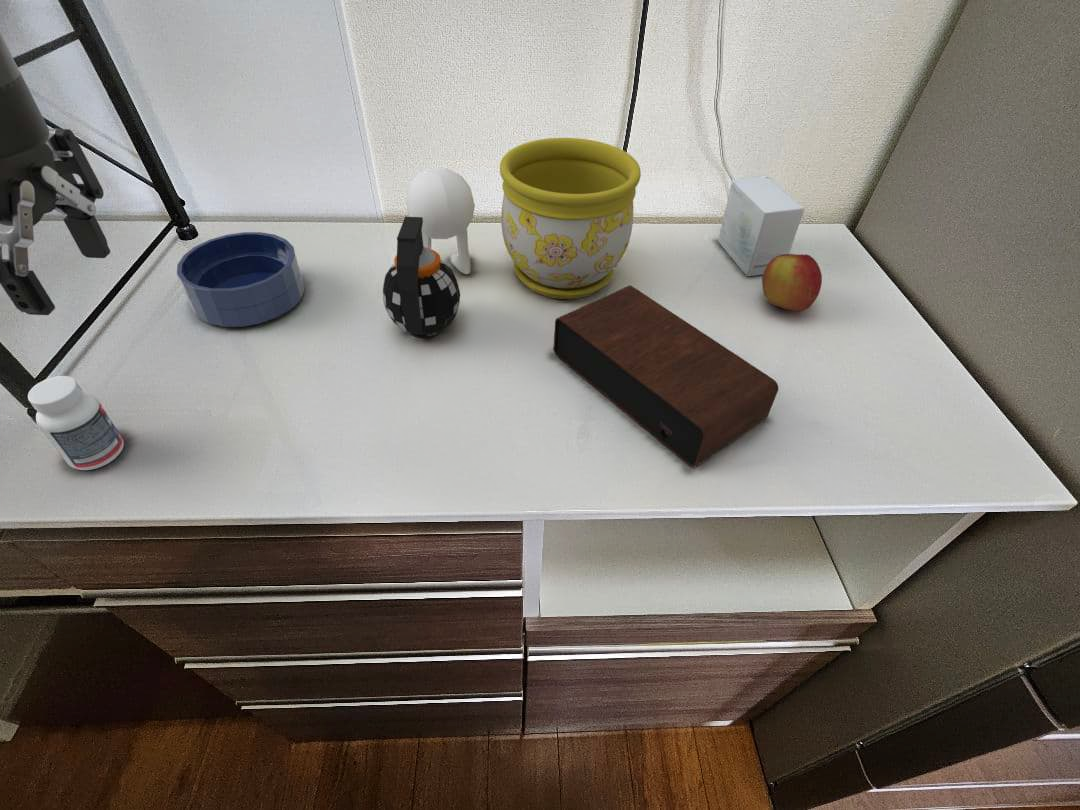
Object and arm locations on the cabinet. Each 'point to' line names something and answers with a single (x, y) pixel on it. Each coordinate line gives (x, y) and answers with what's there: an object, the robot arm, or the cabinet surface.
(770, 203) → the cosmetics box
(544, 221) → the flowerpot
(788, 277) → the apple
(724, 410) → the alarm clock
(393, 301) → the grenade
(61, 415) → the pill bottle
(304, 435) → the cabinet surface
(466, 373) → the cabinet surface
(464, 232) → the toy character
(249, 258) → the basin
